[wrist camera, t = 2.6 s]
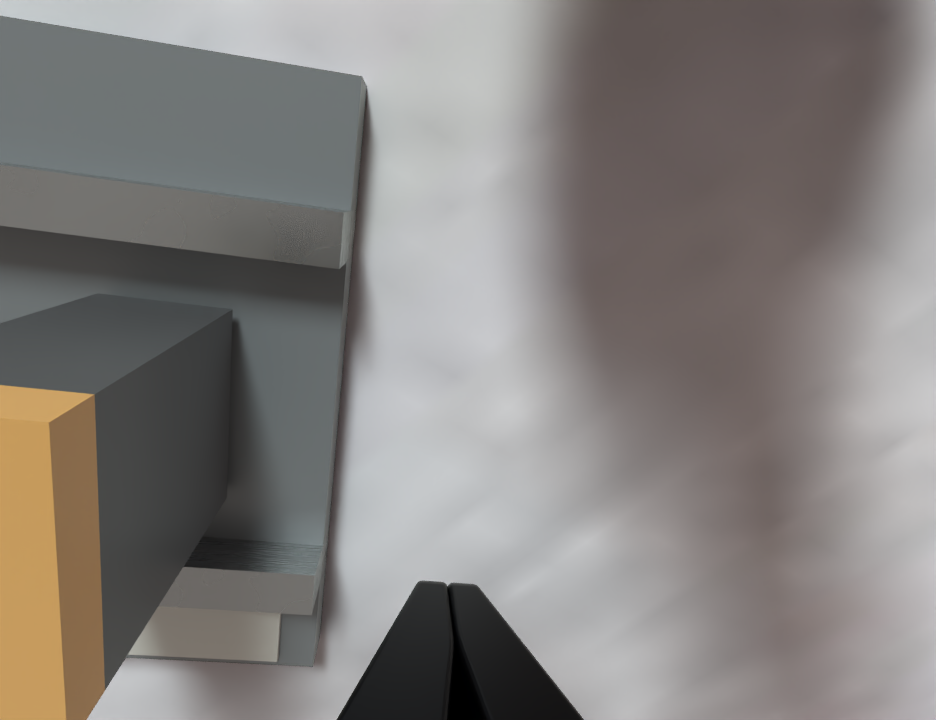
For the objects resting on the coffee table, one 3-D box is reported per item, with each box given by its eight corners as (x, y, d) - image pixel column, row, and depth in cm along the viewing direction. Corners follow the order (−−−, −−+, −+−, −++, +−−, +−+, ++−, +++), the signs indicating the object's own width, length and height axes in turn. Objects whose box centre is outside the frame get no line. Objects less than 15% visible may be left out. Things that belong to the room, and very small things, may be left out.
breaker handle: (232, 309, 14) (49, 422, 7) (226, 498, 15) (67, 748, 8) (97, 293, 13) (-236, 396, 6) (103, 488, 14) (-169, 740, 8)
